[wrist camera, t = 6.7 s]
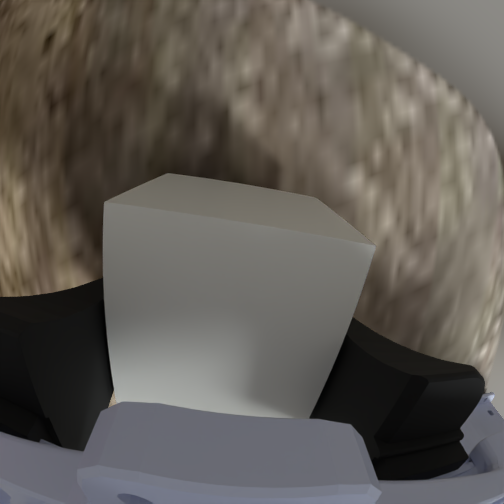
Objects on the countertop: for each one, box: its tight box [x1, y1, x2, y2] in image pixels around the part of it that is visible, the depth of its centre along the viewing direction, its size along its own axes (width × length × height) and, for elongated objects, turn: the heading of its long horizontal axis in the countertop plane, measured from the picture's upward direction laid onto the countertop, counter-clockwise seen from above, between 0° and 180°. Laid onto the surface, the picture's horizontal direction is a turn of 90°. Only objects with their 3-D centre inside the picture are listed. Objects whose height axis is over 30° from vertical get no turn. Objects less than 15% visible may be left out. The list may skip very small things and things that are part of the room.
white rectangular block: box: [103, 173, 376, 419], centre depth 10 cm, size 6×9×6 cm, turn 170°
